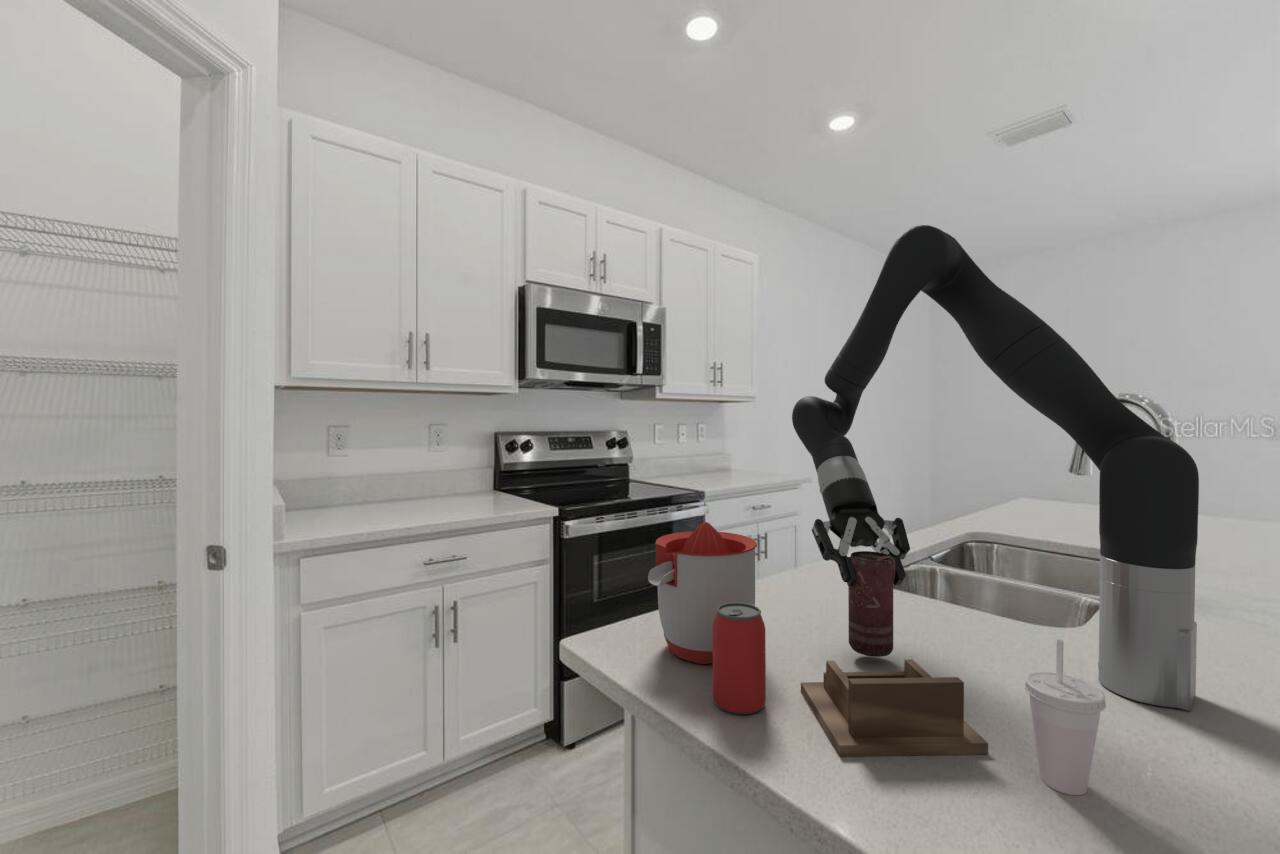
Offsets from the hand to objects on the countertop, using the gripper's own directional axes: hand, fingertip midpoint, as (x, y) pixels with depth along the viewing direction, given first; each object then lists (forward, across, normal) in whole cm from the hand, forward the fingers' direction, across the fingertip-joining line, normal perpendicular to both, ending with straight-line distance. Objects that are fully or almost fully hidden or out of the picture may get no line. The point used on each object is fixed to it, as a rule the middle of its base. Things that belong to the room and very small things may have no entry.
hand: (875, 582), depth 81 cm
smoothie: (+27, +7, -10) cm, 30 cm away
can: (+6, 0, +9) cm, 11 cm away
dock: (+19, -5, -2) cm, 19 cm away
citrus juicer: (+4, -25, +13) cm, 28 cm away
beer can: (+16, -22, +2) cm, 27 cm away
